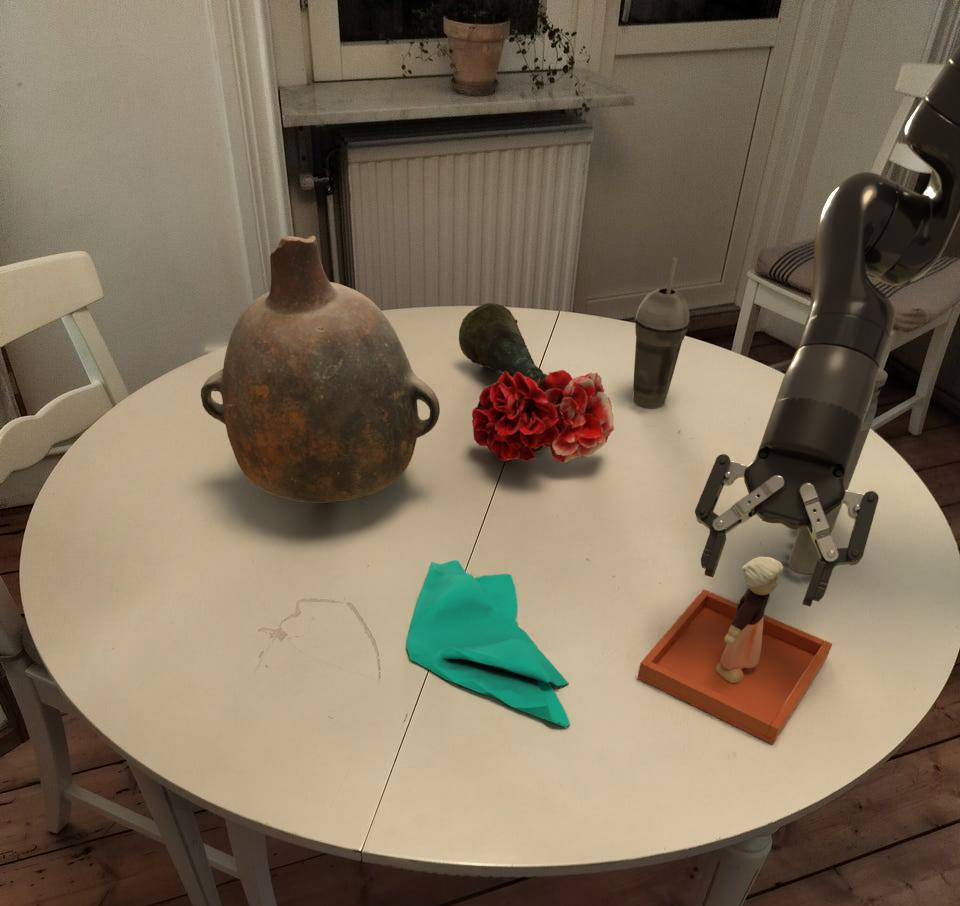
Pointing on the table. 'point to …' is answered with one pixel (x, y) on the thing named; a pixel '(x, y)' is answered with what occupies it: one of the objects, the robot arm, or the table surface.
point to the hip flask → (804, 548)
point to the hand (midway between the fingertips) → (757, 589)
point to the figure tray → (764, 689)
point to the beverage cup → (658, 343)
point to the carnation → (530, 395)
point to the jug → (317, 387)
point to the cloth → (482, 641)
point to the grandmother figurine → (749, 619)
